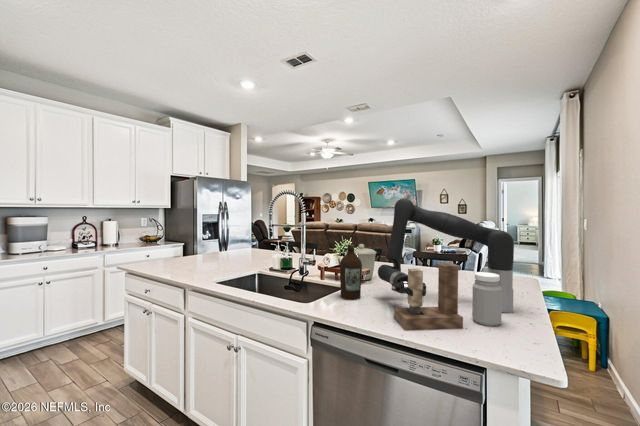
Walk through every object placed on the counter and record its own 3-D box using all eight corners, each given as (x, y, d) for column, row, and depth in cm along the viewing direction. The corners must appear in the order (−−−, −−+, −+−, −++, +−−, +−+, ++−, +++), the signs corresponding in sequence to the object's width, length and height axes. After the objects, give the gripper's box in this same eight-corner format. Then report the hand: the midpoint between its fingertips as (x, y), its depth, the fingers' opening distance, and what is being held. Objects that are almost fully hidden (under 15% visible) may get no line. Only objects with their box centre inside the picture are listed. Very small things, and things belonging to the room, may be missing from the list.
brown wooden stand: (447, 316, 121) (447, 261, 121) (464, 328, 109) (464, 267, 109) (394, 318, 119) (394, 262, 119) (405, 330, 108) (405, 268, 107)
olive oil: (337, 294, 152) (337, 243, 152) (358, 293, 154) (358, 243, 154) (342, 300, 142) (342, 246, 142) (364, 299, 143) (364, 246, 143)
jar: (475, 315, 123) (475, 270, 122) (503, 321, 116) (504, 273, 116) (468, 322, 115) (469, 274, 115) (498, 329, 109) (499, 278, 109)
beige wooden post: (417, 316, 116) (418, 268, 116) (422, 320, 112) (422, 270, 112) (407, 316, 116) (408, 268, 116) (411, 320, 112) (412, 270, 112)
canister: (340, 277, 191) (341, 243, 191) (365, 274, 199) (365, 242, 199) (356, 283, 175) (356, 246, 175) (382, 280, 183) (382, 245, 182)
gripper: (384, 273, 128) (399, 283, 110) (418, 272, 129) (437, 282, 112) (384, 291, 128) (398, 304, 111) (418, 290, 129) (437, 303, 112)
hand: (418, 293), depth 111 cm, fingers closed on beige wooden post, 4 cm apart
